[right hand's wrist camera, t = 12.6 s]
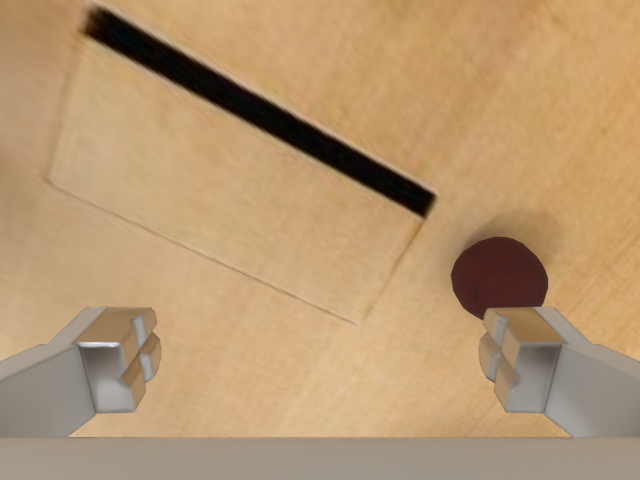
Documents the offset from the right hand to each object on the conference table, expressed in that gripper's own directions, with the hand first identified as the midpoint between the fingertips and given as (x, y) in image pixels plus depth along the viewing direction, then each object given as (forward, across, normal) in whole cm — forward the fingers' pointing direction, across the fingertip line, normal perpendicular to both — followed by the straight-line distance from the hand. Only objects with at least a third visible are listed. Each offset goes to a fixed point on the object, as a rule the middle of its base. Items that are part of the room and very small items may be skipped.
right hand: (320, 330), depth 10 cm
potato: (+27, +16, -10) cm, 33 cm away
